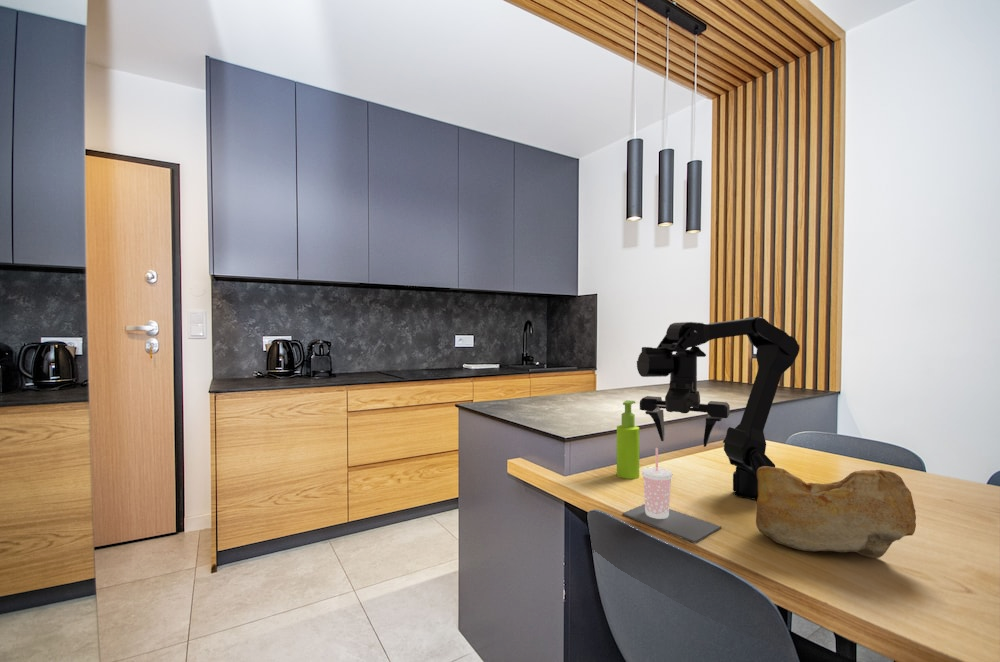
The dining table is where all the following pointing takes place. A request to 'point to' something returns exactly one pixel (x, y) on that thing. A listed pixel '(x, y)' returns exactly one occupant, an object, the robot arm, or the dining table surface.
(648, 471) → the beverage cup
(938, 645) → the dining table surface
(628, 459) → the soap dispenser
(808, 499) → the rough brown rock
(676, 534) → the mat
